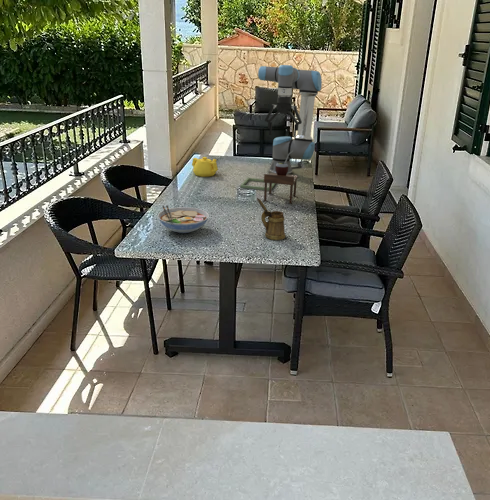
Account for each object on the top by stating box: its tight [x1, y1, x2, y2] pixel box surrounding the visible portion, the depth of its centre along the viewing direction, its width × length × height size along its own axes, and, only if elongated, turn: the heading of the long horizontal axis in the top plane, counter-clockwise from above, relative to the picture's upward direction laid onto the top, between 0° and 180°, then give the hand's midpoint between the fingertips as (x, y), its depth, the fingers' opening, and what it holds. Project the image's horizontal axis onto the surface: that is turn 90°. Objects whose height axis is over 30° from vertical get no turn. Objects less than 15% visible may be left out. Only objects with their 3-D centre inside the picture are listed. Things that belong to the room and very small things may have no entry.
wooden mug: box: [256, 197, 286, 241], centre depth 223 cm, size 9×14×18 cm, turn 94°
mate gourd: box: [275, 151, 293, 176], centre depth 272 cm, size 8×8×15 cm
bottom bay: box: [240, 177, 276, 192], centre depth 302 cm, size 18×18×2 cm
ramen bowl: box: [157, 204, 210, 234], centre depth 227 cm, size 25×23×8 cm
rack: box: [263, 172, 299, 205], centre depth 277 cm, size 16×16×15 cm
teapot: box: [191, 156, 219, 178], centre depth 319 cm, size 20×18×11 cm
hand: (282, 135), depth 279 cm, fingers open, 13 cm apart
